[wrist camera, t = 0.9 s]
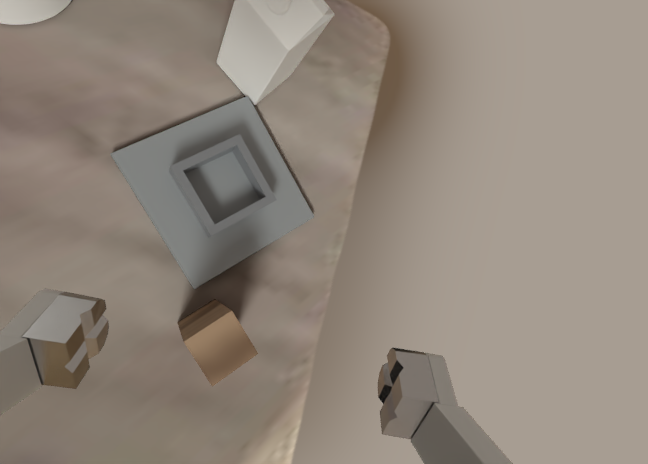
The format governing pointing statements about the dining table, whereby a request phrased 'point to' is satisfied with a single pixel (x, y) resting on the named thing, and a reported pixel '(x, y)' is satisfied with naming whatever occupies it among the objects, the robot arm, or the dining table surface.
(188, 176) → the socket base
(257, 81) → the milk carton
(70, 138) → the dining table surface
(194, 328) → the walnut block
